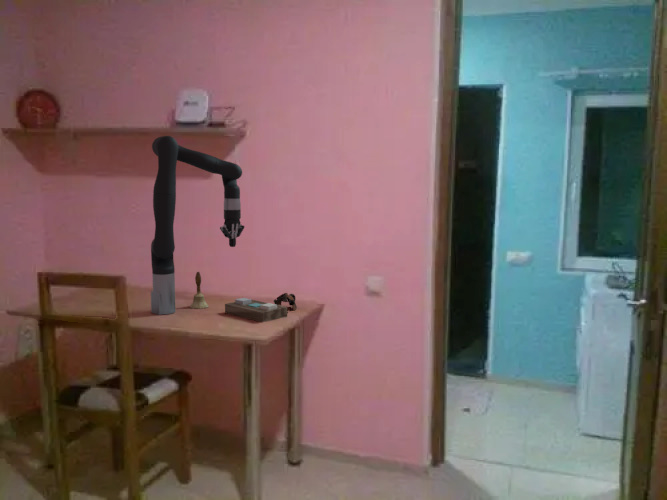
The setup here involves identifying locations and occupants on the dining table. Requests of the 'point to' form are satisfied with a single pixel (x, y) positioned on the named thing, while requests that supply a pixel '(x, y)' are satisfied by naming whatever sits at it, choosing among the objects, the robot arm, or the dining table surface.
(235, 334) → the dining table surface
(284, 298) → the pottery mug
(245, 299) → the grey key
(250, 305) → the teal key
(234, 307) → the console
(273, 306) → the cream key
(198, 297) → the hand bell
